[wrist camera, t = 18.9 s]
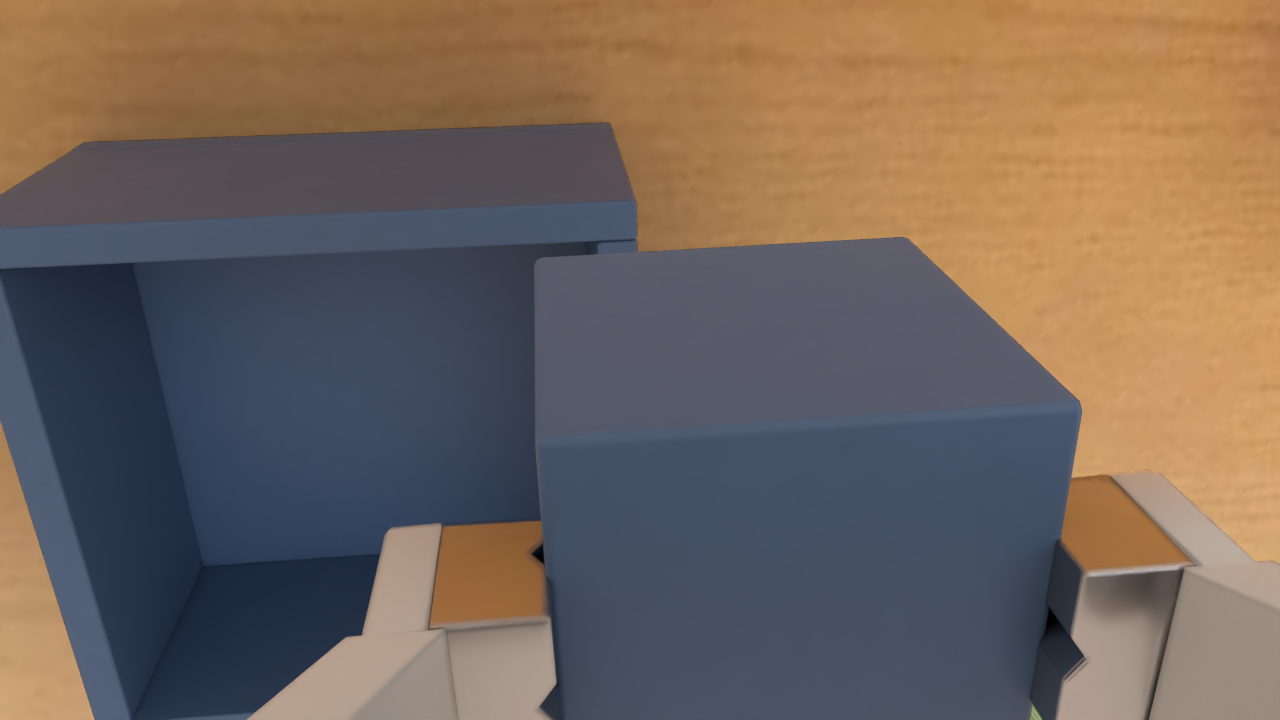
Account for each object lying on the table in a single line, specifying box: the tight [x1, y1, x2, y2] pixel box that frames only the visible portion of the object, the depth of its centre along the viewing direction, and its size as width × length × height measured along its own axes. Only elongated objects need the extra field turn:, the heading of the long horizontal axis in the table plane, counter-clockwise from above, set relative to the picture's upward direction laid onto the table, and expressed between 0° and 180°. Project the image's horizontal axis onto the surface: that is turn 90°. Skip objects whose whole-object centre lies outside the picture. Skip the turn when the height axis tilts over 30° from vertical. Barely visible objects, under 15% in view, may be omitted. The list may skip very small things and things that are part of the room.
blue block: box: [534, 237, 1082, 720], centre depth 11 cm, size 4×4×4 cm
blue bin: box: [0, 123, 638, 720], centre depth 25 cm, size 13×13×7 cm
